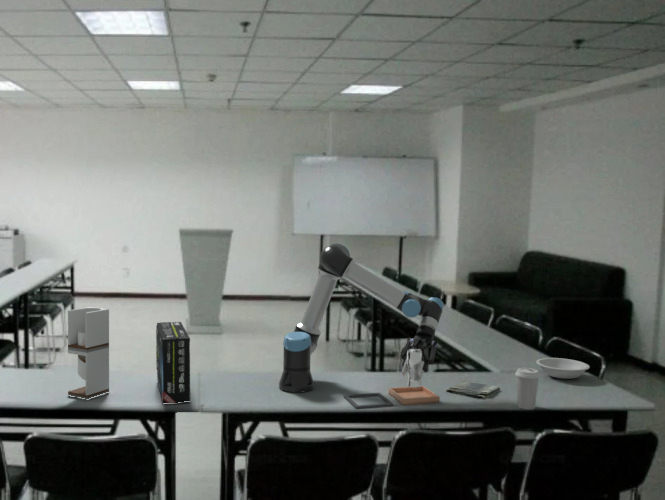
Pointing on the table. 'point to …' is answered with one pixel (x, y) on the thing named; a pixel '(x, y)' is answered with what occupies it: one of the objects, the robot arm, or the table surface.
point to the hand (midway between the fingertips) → (411, 375)
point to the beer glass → (414, 367)
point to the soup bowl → (562, 367)
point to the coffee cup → (527, 387)
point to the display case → (90, 349)
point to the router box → (173, 362)
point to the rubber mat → (388, 403)
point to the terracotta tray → (413, 395)
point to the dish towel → (473, 389)
